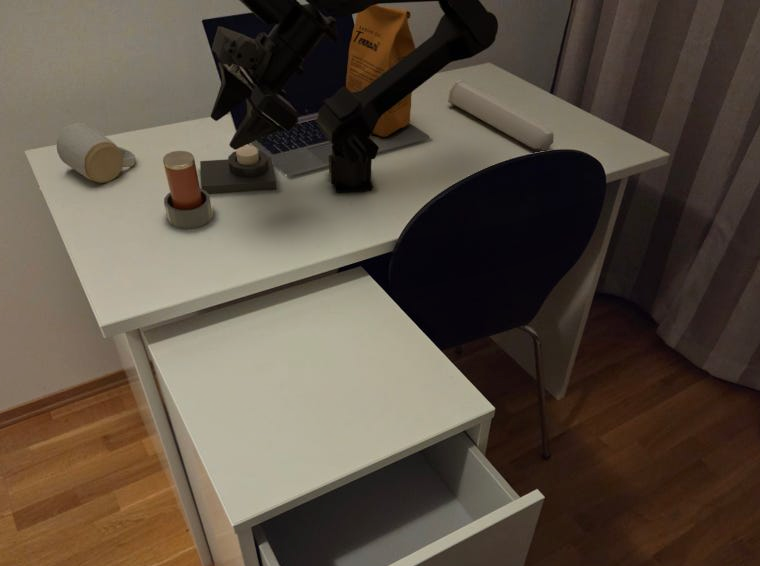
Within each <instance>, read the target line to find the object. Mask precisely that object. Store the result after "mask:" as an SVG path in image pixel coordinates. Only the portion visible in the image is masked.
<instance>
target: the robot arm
mask: <svg viewBox="0 0 760 566" xmlns="http://www.w3.org/2000/svg"><path fill="white" fill-rule="evenodd" d="M238 1H239V2H240V3H241V4H243V5H244V6H245V8H247V10H249V11H250V12H251V13H252V14H253V15H255V16H256V17H257V18H258V19H259V20H260V21H261V22H262V23H264V24H265V25H272V24H275V25H274V27H273V28H272V30H271V31H270V32H269V33H268V35H267V33H266V32H264V31H263V32H259V33H258V34H257V36H256V37H255V38H252V37H249V36H247V35H245V34H243V33H240V32H237V31H235V30H231V29H229V28H226V27H223V26H217V29H216V33H215V36H214V39H213V43H212V46H211V51H212V52H214V53H215V54H216V58H217V59H218V60H219V61H218V66H219V70H220V76H221V83H220V87H219V89H218V92H217V96H216V100H215V101H214V105H213V107H212V110H211V113H210V119H212V120H214V122H218V121H219V120H221V119H222V118H224V117H225V116H226V115H228V114H229V113H230V112H232V111H233V110H234V109H236V108H237V107H238V106H239V105H241V104H242V103H243V102H244V101H245V102H246V115H245V117H244V118H243V120H242V121H241V123H240V124H239V126H238V128H237V129H236V131H235V132H234V134H233V136H232V138H231V140H230V142H229V147H230V148H231V149H233V150H235V151H236V150H237V149H239V148H241V147H243V146H248V145H249V144H251V143H254V142H255V141H258V140H260V139H263V138H265V137H268V136H271V135H273V134H276V133H278V132H280V133H281V134H282V133H284V132H285V131H287V132H288V133H291V132H292V131H293V129H294V128H295V127H296V126H297V124H298V123H299V112H298V111H297V110H296V109H295V108H294V106H292V104H291V103H290V101H288V100H286V99H285V97H286V95H287V92H286V91H285V90H284V88H285V86H286V85H287V84H288V83H289V81H291V79H292V78H293V76H294V75H295V73H296V75H298V76H299V77H301V76H302V75H303V73H304V72H305V69H303V68H302V67H301V66H302V65H303V63H304V62H305V60H306V59H307V58H308V57H309V55H310V54H311V53H312V51H313V50H314V49H315V48H316V46H317V45H318V43H319V42H320V41H321V40H322V38H323V37H324V36H326V37H328V39H329V40H330V41H331V42H332V43H334V44H337V43H338V42H339V34H338V25H339V24H338V20H336V19H335V18H334V17H336V18H343V17H347V16H352V15H355V14H357V13H359V12H362V11H364V10H366V9H367V8H369V7H370V6H372V5H376V4H378V5H381V4H383V5H384V4H404V3H427V2H429V3H430V2H437V3H438V5H439V8H440V9H441V11H442V12H443V15H442V16H441V18H440V19H439V22H438V24H437V25H436V27H435V30H434V32H433V34H432V35H431V36H430V37H428V39H426V40H425V41H424V42H422V43H421V44H419V45H418V46H417V47H415V48H416V49H414V50H413V51H412V52H411V53H409V54H408V55H407V56H405V57H404V58H403V59H402V60H400V61H399V62H398V63H396V64H395V65H394V66H393V67H391V68H390V69H389V70H387V71H386V72H385V73H383V74H382V75H381V76H380V77H378V78H377V79H376V80H374V81H373V82H372V83H371V84H369V85H368V86H367V87H365V88H364V89H363V90H361V91H357V92H352V93H351V92H350V91H349V90H348V89H347V88H346V85H344V86H342V87H341V88H339V89H338V90H337V92H335V93H334V94H333V95H332V96H331V97H328V98H325V99H324V100H323V102H324V103H325V104H323V105H322V106H321V107H320V109H319V110H318V112H317V118H316V124H317V128H318V130H319V131H320V132H321V134H322V135H323V136H324V137H325V138H326V139H327V140H328V142H329V143H331V154H329V155H328V178H329V181H330V184H331V185H333V188H334V191H335V193H336V194H343V193H357V192H370V191H373V190H374V185H373V183H372V162H373V161H372V160H375V159H376V158H377V154H378V151H379V149H380V147H379V145H378V144H376V143H375V141H374V140H373V139H372V138H371V136H372V134H373V130H374V128H375V126H376V124H377V122H378V120H379V118H380V117H381V116H382V115H383V114H384V113H386V112H387V111H388V110H389V109H391V108H392V107H393V106H395V105H396V104H397V103H398V102H400V101H401V100H402V99H404V98H405V97H406V96H408V95H409V94H410V93H411V92H412V93H413V92H414V91H415V90H417V89H419V87H421V86H422V85H423V84H424V83H426V82H427V81H428V80H430V79H431V78H433V77H434V76H435V75H436V74H437V73H439V72H440V71H441V70H443V69H444V68H445V67H447V66H448V65H449V64H451V63H454V62H457V61H462V60H468V59H471V58H473V57H475V56H477V55H479V54H480V53H482V52H484V51H486V50H487V49H489V48H490V47H491V46H493V44H494V43H495V41H496V39H497V38H496V36H497V34H498V30H499V22H498V18H497V16H496V15H495V14H494V13H493V12H491V11H490V10H488V9H486V8H485V6H484V5H483V4H482V2H481V0H304V1H305V2H307V3H308V4H305V5H303V4H301V2H299V1H298V0H238ZM318 9H323V10H325V11H326V12H327V13H328V14H329V15H330V16H325V15H324V14H322V13H321V12H320V11H319V10H318ZM249 98H250V99H249Z"/></svg>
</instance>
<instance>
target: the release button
mask: <svg viewBox="0 0 760 566" xmlns="http://www.w3.org/2000/svg"><path fill="white" fill-rule="evenodd" d="M258 150H259V149H258V148H257V147H255V146H252V145H245V146H243V147H241V148H239V149H236V150H235V151H236V155H237V161H238V163H239V164H242V165H253V164H256V163H258V162H259V155H258Z"/></svg>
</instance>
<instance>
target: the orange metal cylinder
mask: <svg viewBox="0 0 760 566" xmlns="http://www.w3.org/2000/svg"><path fill="white" fill-rule="evenodd" d="M162 163H163V167H164V173H165V175H166V180H167V185H168V189H169V193H171V198H172V202H173V206H174V208H175V209H178V210H192V209H195V208H198V207H200V206H202V205H203V202H202V196H201V191H200V189H201V185H200V181H199V176H198V170H197V165H196V160H195V156H194V154H192V153H191V152H189V151H186V150H175V151H170V152H168V153H166V154H164V156H163V158H162Z"/></svg>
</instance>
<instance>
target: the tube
mask: <svg viewBox="0 0 760 566" xmlns="http://www.w3.org/2000/svg"><path fill="white" fill-rule="evenodd" d="M447 102H448V103H449V104H451V106H453V107H457V108H458V109H461V110H463V111H464V112H466V113H468V114H470V115H472V116H473V117H475V118H477V119H479V120H481V121H483V123H486V124H488V125H489V126H491V127H493V128H495V129H496V130H498V131H500V132H502V133H504V134H505V135H507V136H509V137H510V138H513V139H514V140H516V141H517V142H520V143H521V144H522V145H524V146H526V147H528V148H530V149H532V150H534V151H536V152H537V153H539V152H538V151H544V150H545V151H546V150H548V149H549V148H550V147H551V146H552V145H553V144H554V135H555V134H554V131H553V130H552V129H551V128H550V126H548V125H546V124H544V123H542V122H540V121H538V120H537V119H534V118H533V117H531V116H529V115H527V114H525V113H523V112H521V111H520V110H519V109H516V108H514V107H513V106H510V105H509V104H507V103H505V102H503V101H502V100H499V99H498V98H496V97H493V96H492V95H489V94H488V93H486V92H484V91H483V90H480V89H479V88H476V87H475V86H473V85H471V84H469V83H467V81H466V80H464V79H459V80H456V81H454V82H453V84H452V86H451V88H450V89H449V93H448V100H447ZM545 151H544V152H545Z"/></svg>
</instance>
